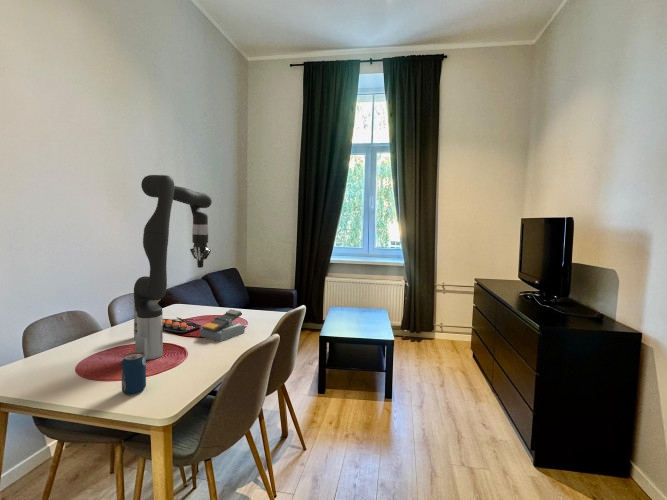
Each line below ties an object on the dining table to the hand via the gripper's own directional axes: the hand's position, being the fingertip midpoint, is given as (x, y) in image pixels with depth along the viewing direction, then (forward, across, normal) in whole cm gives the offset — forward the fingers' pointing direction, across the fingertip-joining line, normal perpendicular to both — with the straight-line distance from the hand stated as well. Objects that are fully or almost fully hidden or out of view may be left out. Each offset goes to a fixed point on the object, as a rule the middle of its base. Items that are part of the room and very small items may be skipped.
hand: (200, 267), depth 175 cm
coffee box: (+33, -14, -20) cm, 41 cm away
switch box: (+33, +14, +2) cm, 36 cm away
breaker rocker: (+26, +14, +2) cm, 30 cm away
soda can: (+33, +33, -55) cm, 72 cm away
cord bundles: (+29, +14, +2) cm, 32 cm away
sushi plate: (+34, -17, +3) cm, 38 cm away
